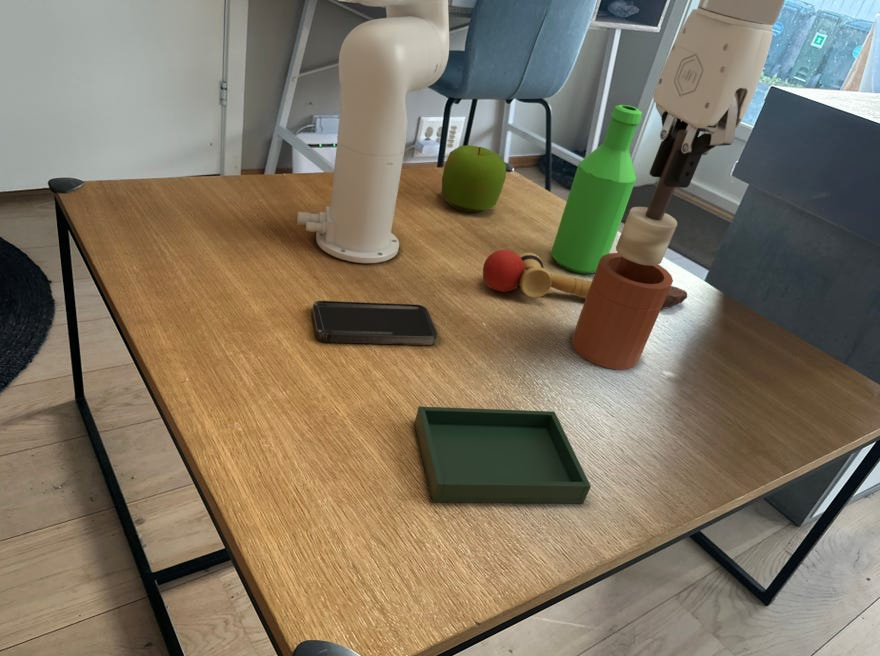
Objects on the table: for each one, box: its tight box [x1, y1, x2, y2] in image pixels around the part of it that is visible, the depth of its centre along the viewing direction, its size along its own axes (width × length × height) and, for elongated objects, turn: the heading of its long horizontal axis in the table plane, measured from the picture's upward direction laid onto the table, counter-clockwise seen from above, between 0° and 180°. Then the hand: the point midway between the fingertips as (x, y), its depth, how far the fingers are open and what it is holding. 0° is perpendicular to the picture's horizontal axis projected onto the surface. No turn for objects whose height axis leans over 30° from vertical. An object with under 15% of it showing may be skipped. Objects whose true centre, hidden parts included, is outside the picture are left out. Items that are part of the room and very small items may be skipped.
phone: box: [311, 300, 438, 346], centre depth 88 cm, size 8×1×15 cm
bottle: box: [551, 104, 643, 275], centre depth 108 cm, size 9×9×25 cm
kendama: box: [482, 249, 592, 300], centre depth 102 cm, size 8×6×18 cm
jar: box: [571, 252, 674, 370], centre depth 90 cm, size 9×9×12 cm
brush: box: [615, 130, 688, 266], centre depth 81 cm, size 6×6×15 cm
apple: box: [441, 144, 507, 213], centre depth 125 cm, size 11×11×11 cm
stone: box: [661, 285, 688, 309], centre depth 107 cm, size 7×7×3 cm
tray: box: [414, 406, 592, 504], centre depth 71 cm, size 15×11×2 cm
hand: (668, 180), depth 80 cm, fingers closed on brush
